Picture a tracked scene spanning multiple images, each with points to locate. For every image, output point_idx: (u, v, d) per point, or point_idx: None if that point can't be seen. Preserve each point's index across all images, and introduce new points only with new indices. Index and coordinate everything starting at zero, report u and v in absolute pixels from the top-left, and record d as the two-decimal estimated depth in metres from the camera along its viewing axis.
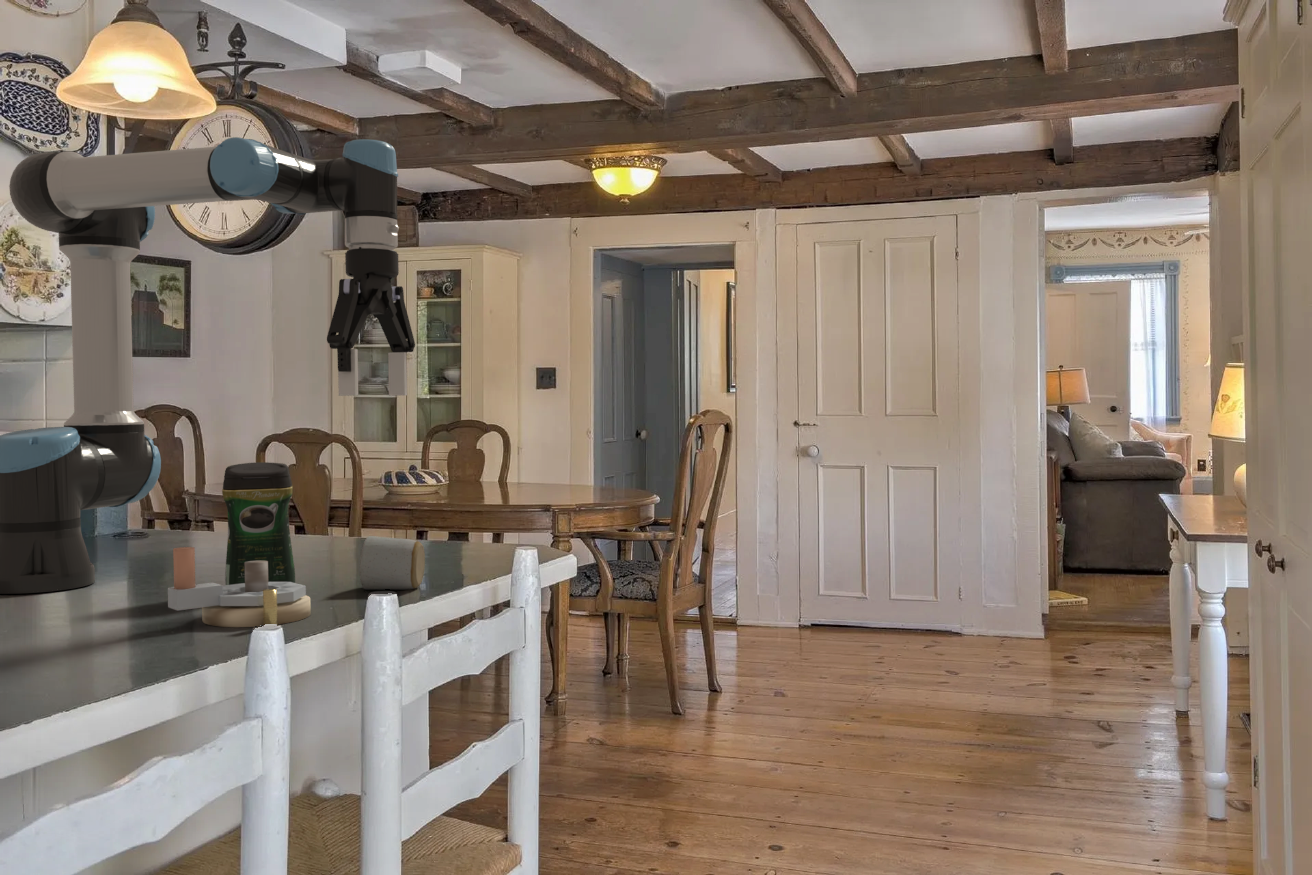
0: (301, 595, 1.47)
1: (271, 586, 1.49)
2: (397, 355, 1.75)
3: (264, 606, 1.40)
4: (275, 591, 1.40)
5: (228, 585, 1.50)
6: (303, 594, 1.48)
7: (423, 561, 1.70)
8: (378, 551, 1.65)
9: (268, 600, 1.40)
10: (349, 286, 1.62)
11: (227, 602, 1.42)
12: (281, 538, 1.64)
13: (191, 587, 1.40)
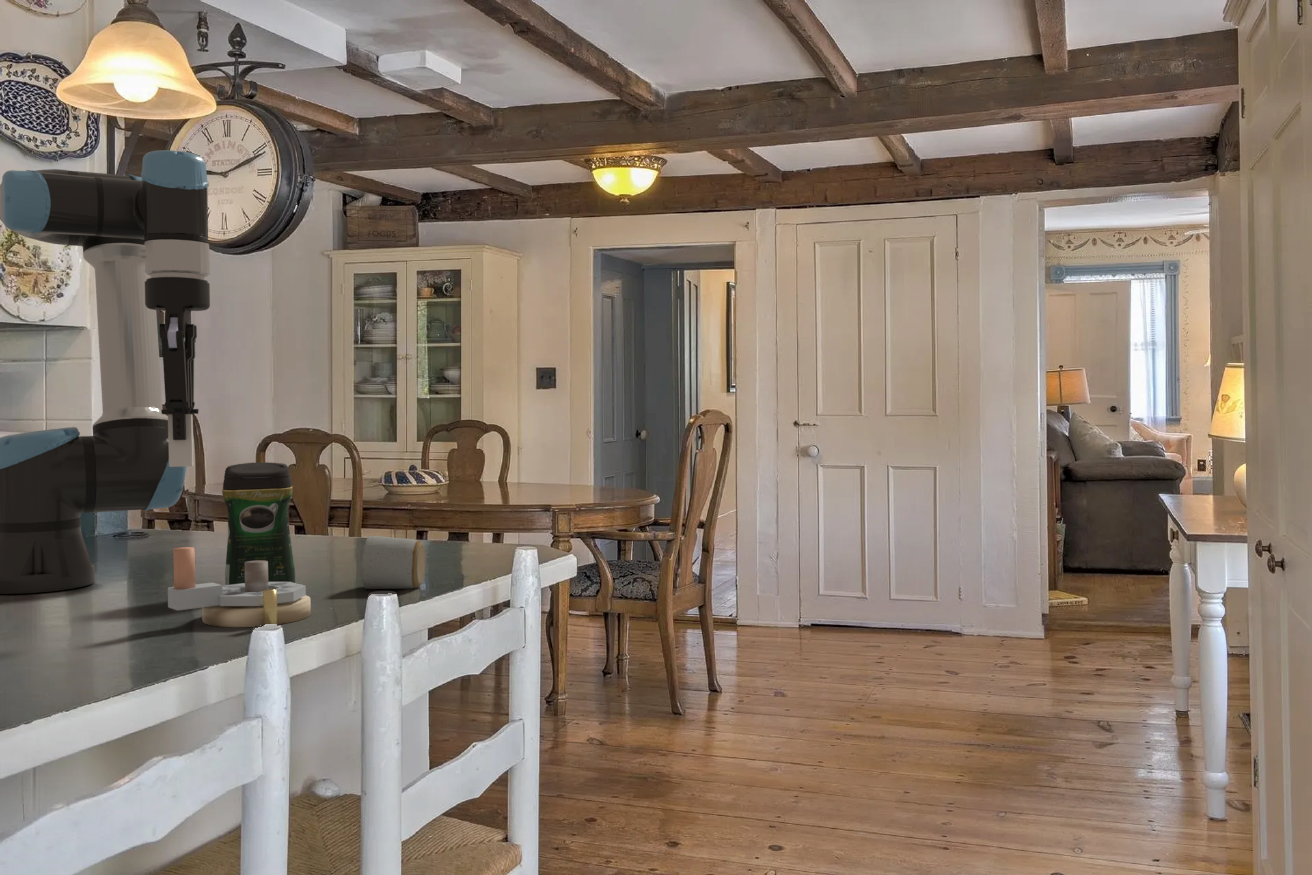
0: (301, 595, 1.47)
1: (271, 586, 1.49)
2: None
3: (264, 606, 1.40)
4: (275, 591, 1.40)
5: (228, 585, 1.50)
6: (303, 594, 1.48)
7: (424, 560, 1.71)
8: (379, 551, 1.66)
9: (268, 600, 1.40)
10: None
11: (227, 602, 1.42)
12: (281, 538, 1.64)
13: (191, 587, 1.40)
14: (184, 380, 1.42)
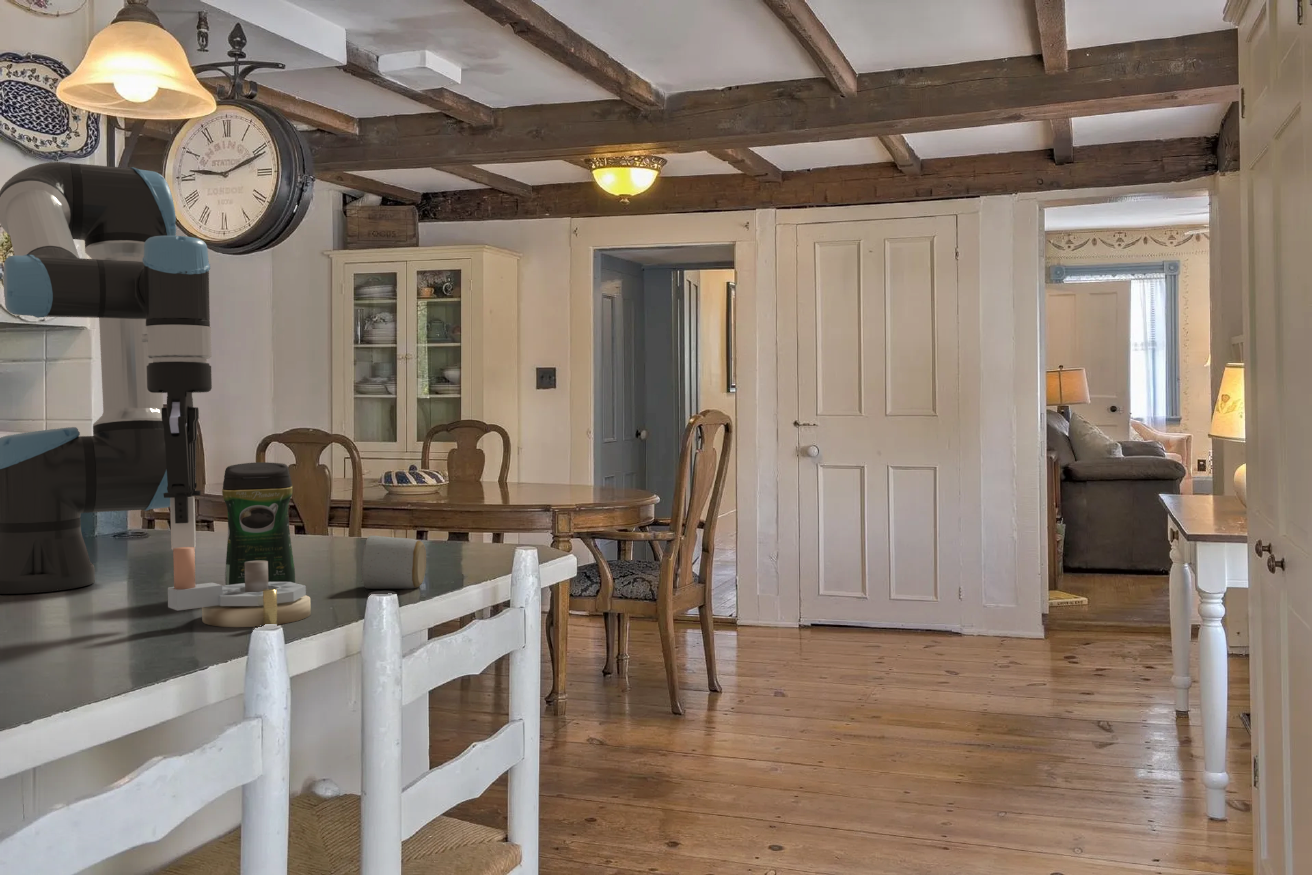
0: (301, 595, 1.47)
1: (271, 586, 1.49)
2: None
3: (264, 606, 1.40)
4: (275, 591, 1.40)
5: (228, 585, 1.50)
6: (303, 594, 1.48)
7: (424, 560, 1.71)
8: (380, 550, 1.66)
9: (268, 600, 1.40)
10: None
11: (227, 602, 1.42)
12: (281, 538, 1.64)
13: (191, 587, 1.40)
14: (186, 464, 1.42)
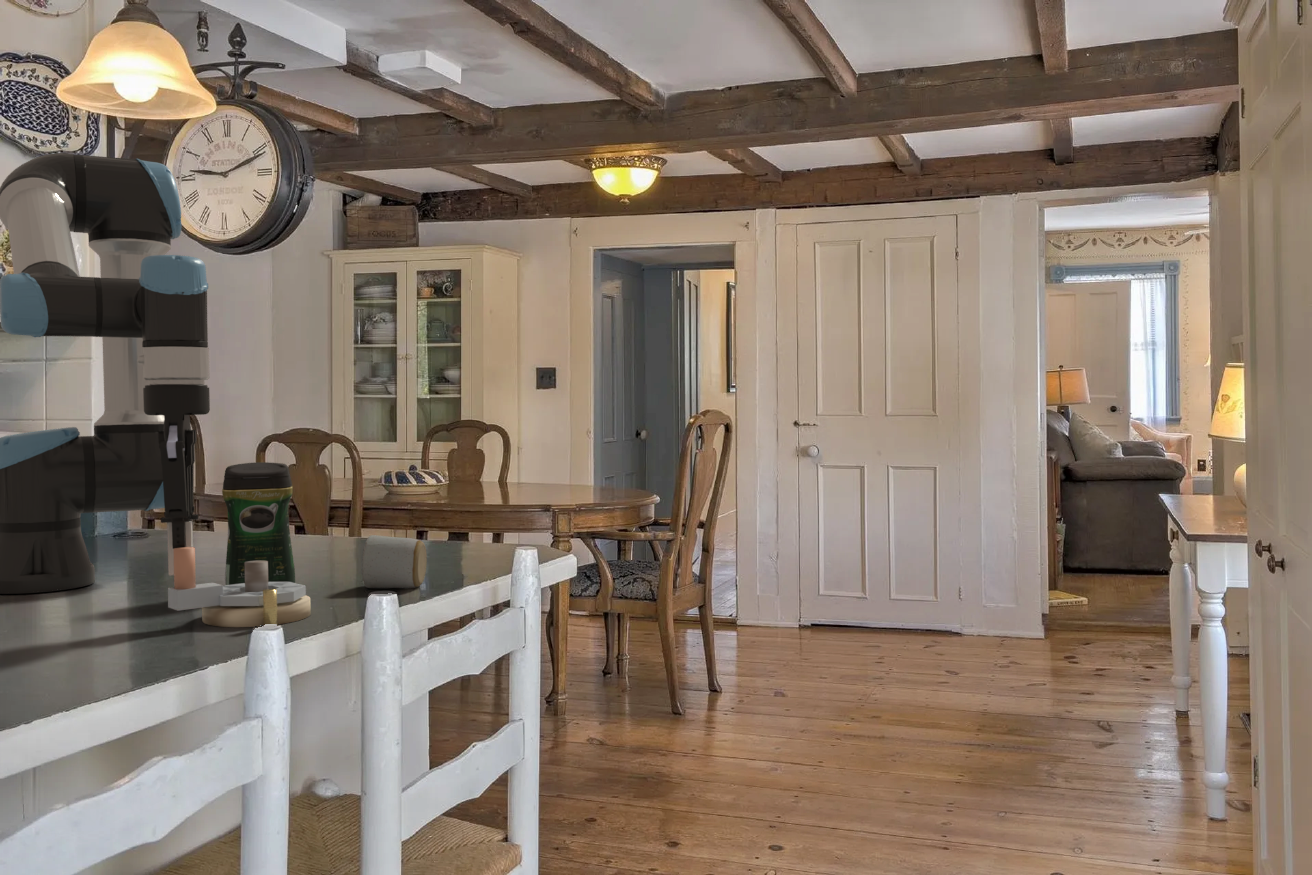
0: (301, 595, 1.47)
1: (271, 586, 1.49)
2: None
3: (264, 606, 1.40)
4: (275, 591, 1.40)
5: (228, 585, 1.50)
6: (303, 594, 1.48)
7: (425, 560, 1.71)
8: (380, 550, 1.66)
9: (268, 600, 1.40)
10: None
11: (227, 602, 1.41)
12: (281, 538, 1.64)
13: (191, 587, 1.40)
14: (184, 490, 1.39)
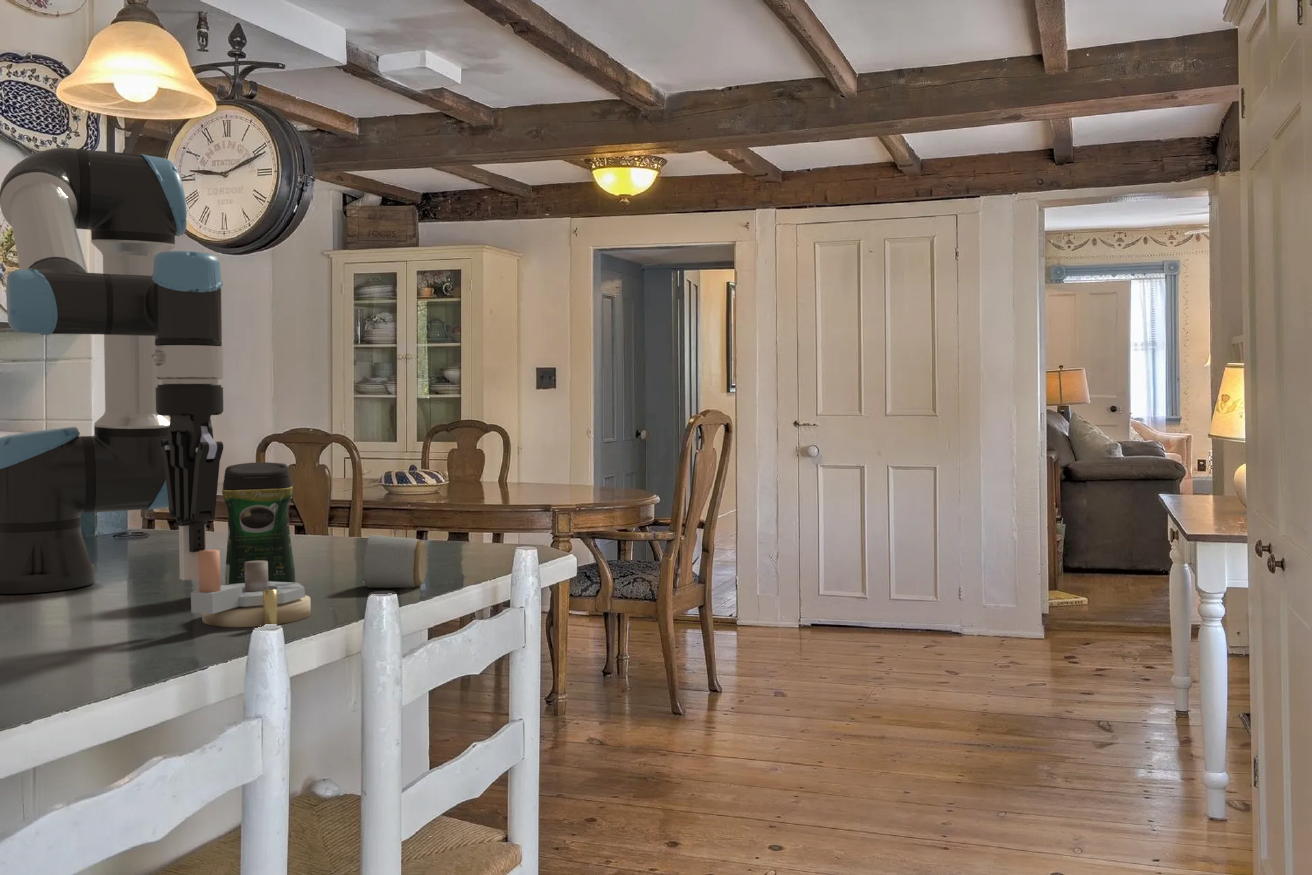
0: None
1: None
2: None
3: (264, 606, 1.40)
4: (275, 591, 1.40)
5: None
6: None
7: (426, 560, 1.71)
8: (381, 550, 1.66)
9: (268, 600, 1.40)
10: None
11: (251, 602, 1.41)
12: (281, 538, 1.64)
13: (220, 589, 1.38)
14: (216, 491, 1.37)
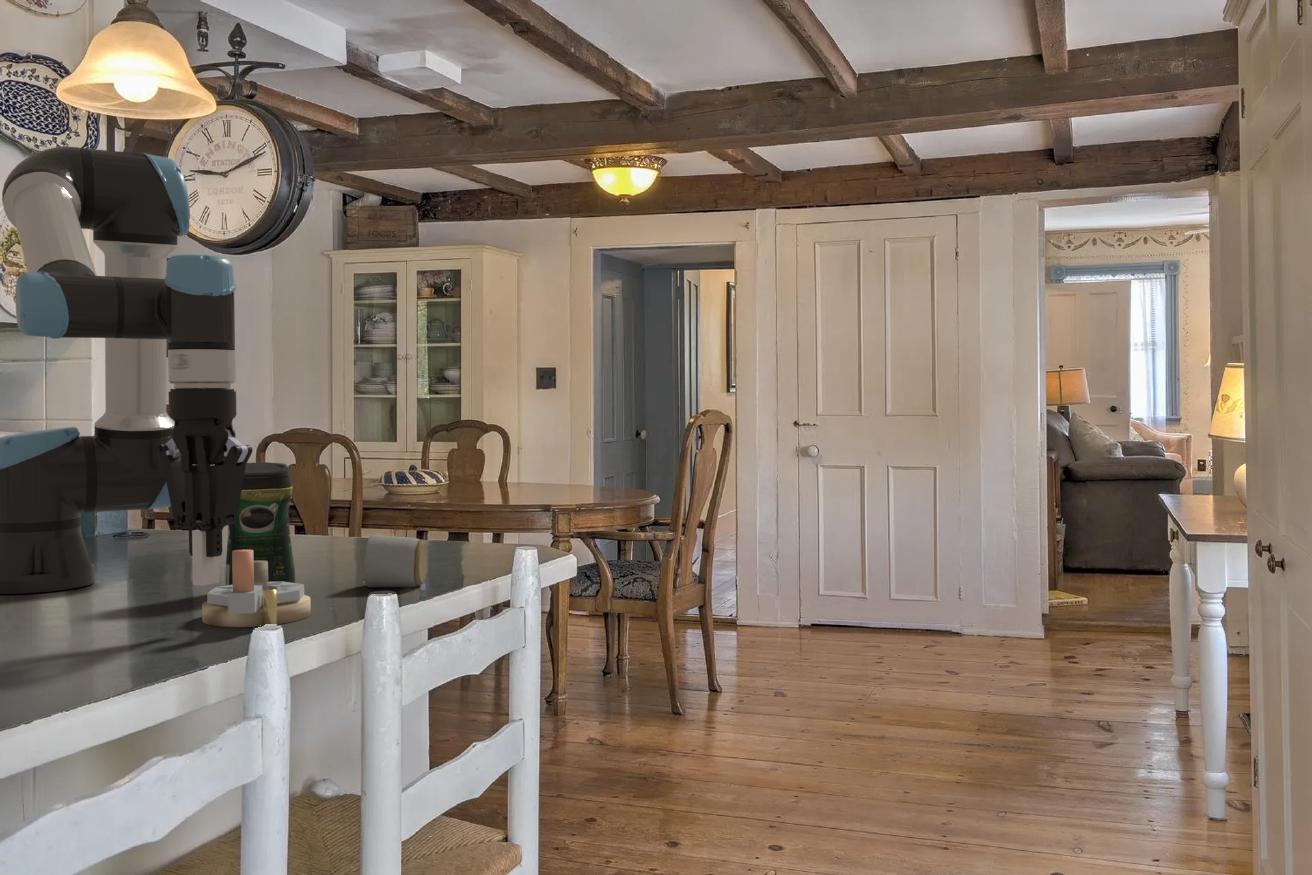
0: None
1: None
2: None
3: (264, 606, 1.40)
4: (275, 591, 1.40)
5: (211, 592, 1.45)
6: None
7: (426, 559, 1.72)
8: (381, 549, 1.67)
9: (268, 600, 1.40)
10: None
11: None
12: (281, 538, 1.64)
13: (254, 589, 1.39)
14: (239, 494, 1.38)
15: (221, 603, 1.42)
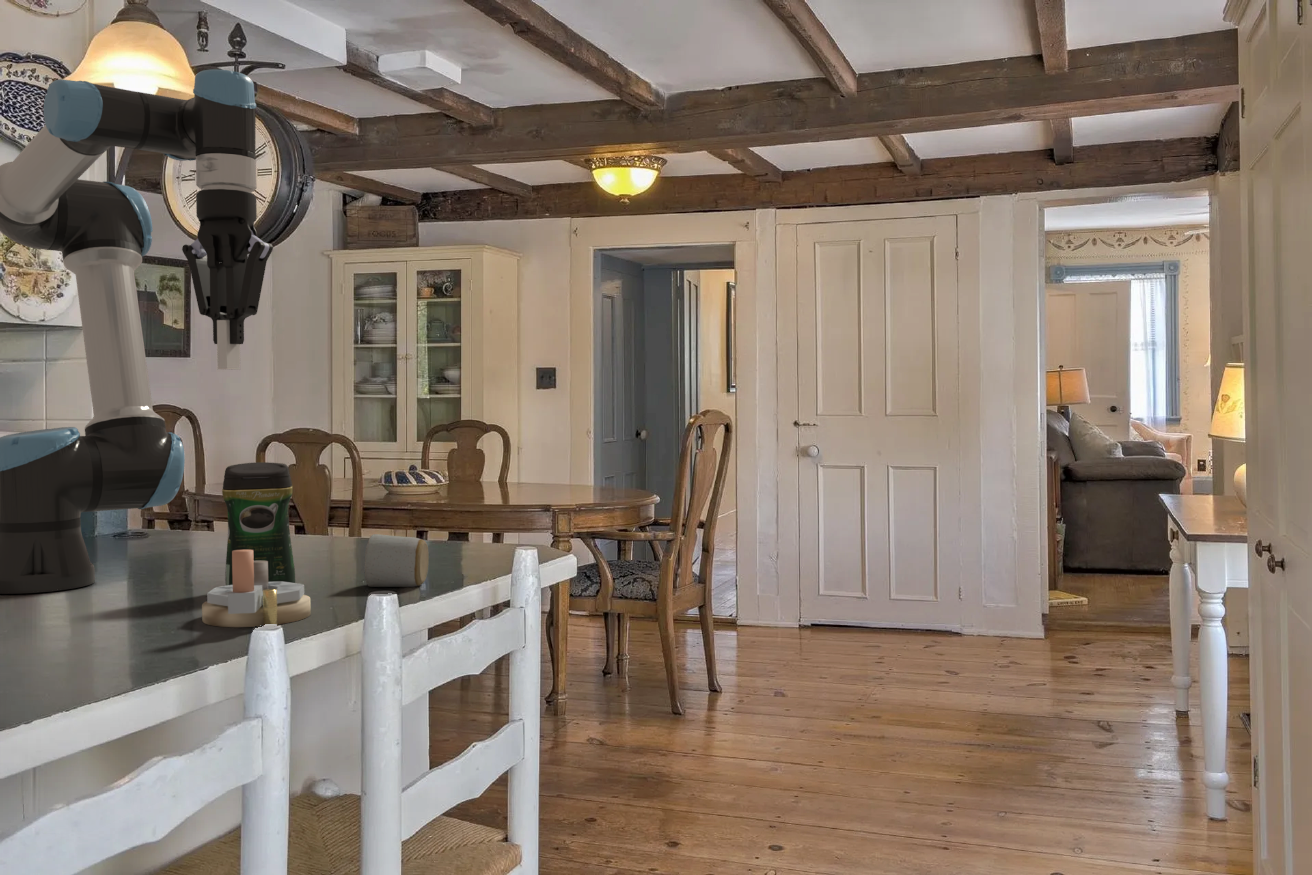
0: None
1: None
2: None
3: (264, 606, 1.40)
4: (275, 591, 1.40)
5: (211, 592, 1.45)
6: None
7: (427, 559, 1.72)
8: (382, 549, 1.67)
9: (268, 600, 1.40)
10: None
11: None
12: (281, 538, 1.64)
13: (254, 589, 1.39)
14: (260, 288, 1.54)
15: (221, 603, 1.42)
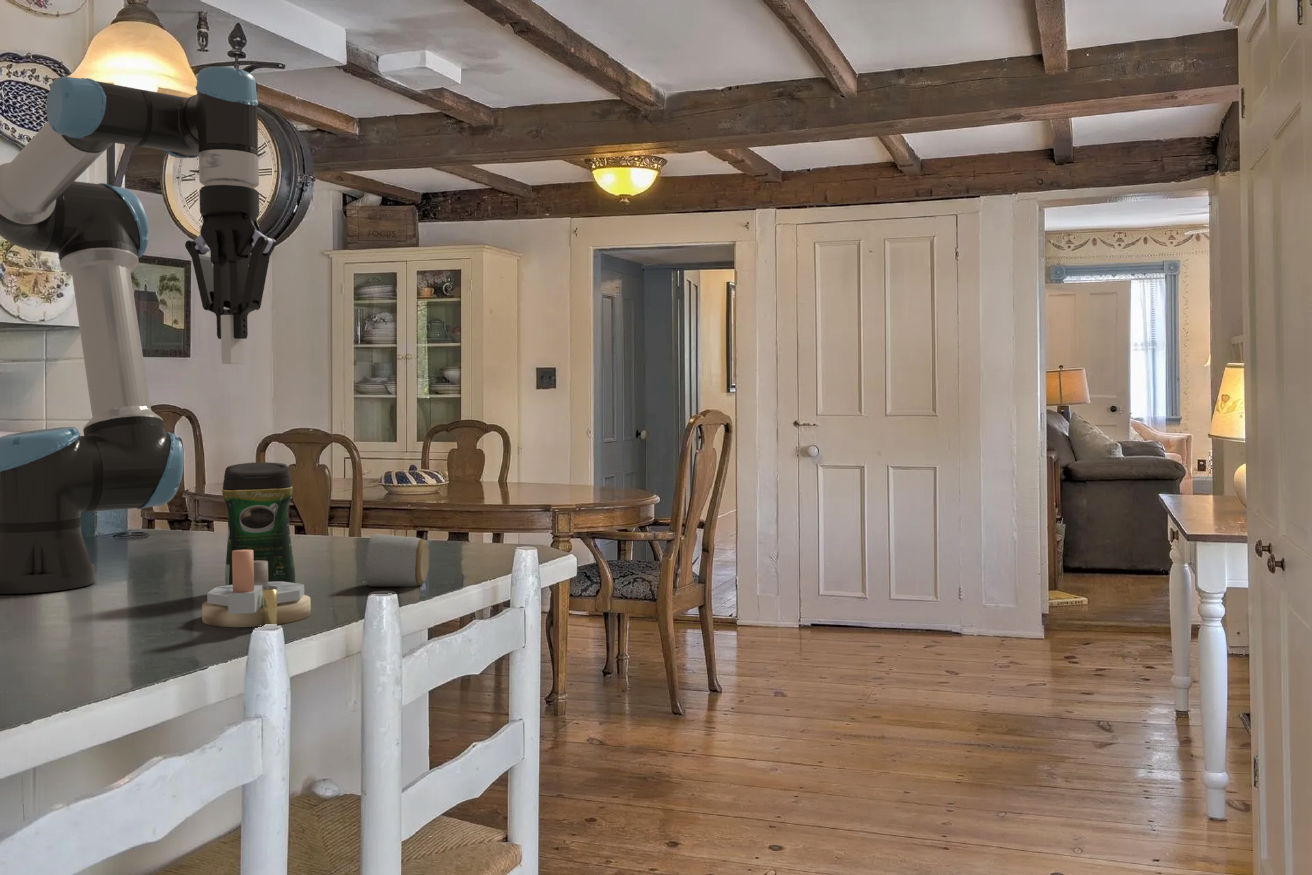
0: None
1: None
2: None
3: (264, 606, 1.40)
4: (275, 591, 1.40)
5: (211, 592, 1.45)
6: None
7: (427, 558, 1.73)
8: (383, 549, 1.68)
9: (268, 600, 1.40)
10: None
11: None
12: (281, 538, 1.64)
13: (254, 589, 1.39)
14: (264, 283, 1.56)
15: (221, 603, 1.42)
